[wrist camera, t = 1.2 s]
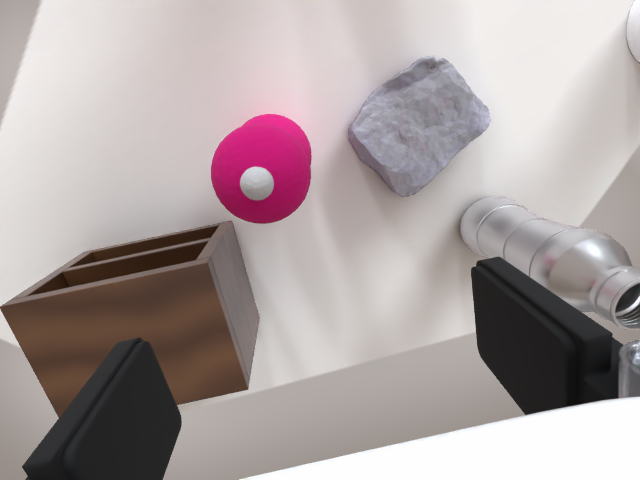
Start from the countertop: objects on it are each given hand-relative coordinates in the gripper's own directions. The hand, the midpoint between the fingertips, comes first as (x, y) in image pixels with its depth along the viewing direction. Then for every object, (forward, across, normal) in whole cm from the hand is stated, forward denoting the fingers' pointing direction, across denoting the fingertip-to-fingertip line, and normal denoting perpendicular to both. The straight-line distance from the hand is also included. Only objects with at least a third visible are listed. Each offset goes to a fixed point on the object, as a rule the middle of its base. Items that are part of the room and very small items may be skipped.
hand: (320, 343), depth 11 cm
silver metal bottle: (+30, -19, +9) cm, 37 cm away
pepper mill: (+30, +2, -3) cm, 30 cm away
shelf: (+30, +16, +9) cm, 35 cm away
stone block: (+30, -12, -3) cm, 33 cm away
